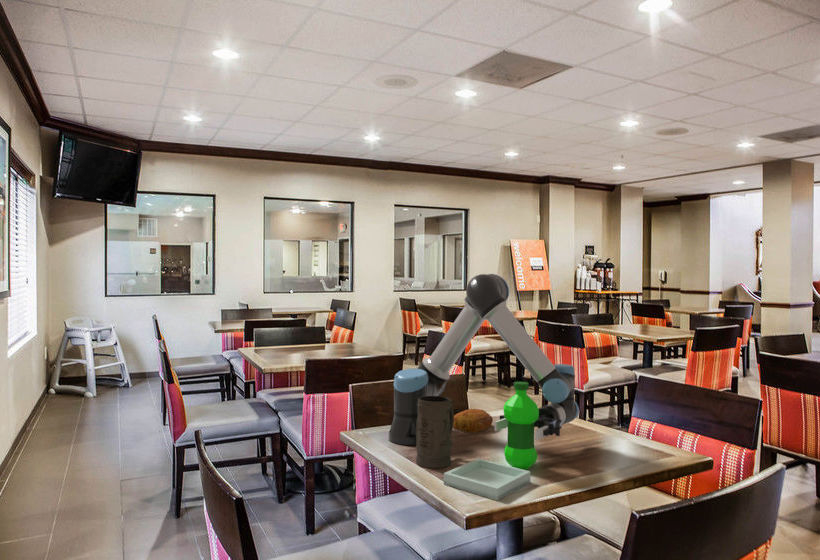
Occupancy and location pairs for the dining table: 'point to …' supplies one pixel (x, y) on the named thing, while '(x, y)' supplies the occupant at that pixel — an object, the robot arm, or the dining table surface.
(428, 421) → the beer stein
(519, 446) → the plastic bottle
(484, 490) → the tray
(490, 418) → the bread loaf
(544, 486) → the dining table surface
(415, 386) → the robot arm
